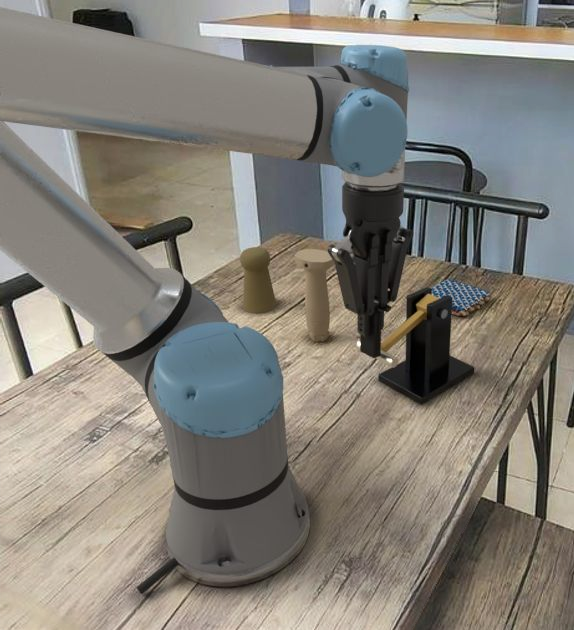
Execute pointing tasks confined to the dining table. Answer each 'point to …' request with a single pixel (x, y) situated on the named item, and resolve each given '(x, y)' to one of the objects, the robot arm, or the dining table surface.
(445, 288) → the woven mat
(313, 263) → the handle
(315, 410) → the dining table surface
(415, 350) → the bracket
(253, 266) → the olive pawn shaped figure
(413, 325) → the lever
